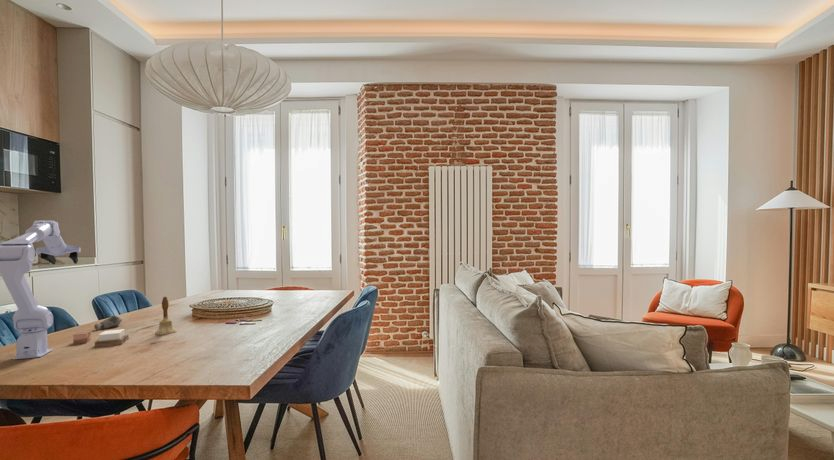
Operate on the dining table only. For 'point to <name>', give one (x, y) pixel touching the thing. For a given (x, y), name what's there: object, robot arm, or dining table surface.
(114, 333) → the white flat square slab
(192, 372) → the dining table surface
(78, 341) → the block
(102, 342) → the tower base
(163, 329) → the hand bell
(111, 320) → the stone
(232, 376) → the dining table surface
